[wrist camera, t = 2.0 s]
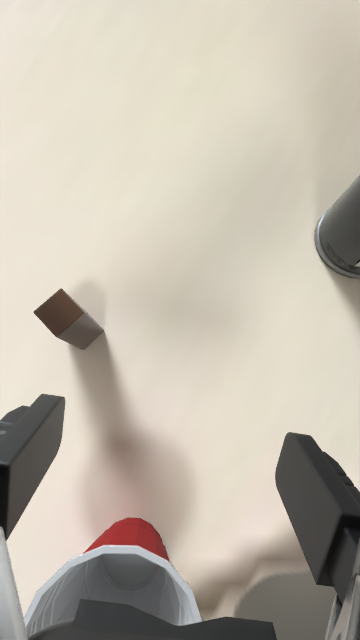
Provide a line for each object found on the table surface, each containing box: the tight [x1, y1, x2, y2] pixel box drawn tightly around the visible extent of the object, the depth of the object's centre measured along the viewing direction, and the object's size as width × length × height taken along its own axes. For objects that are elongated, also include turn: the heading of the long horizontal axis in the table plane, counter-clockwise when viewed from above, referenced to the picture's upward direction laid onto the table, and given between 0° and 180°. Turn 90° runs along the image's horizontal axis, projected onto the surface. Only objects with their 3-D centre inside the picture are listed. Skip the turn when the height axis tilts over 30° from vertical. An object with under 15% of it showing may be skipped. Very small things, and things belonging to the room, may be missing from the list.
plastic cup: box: [24, 518, 202, 637], centre depth 23 cm, size 11×11×12 cm
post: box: [34, 289, 104, 350], centre depth 30 cm, size 3×3×8 cm
